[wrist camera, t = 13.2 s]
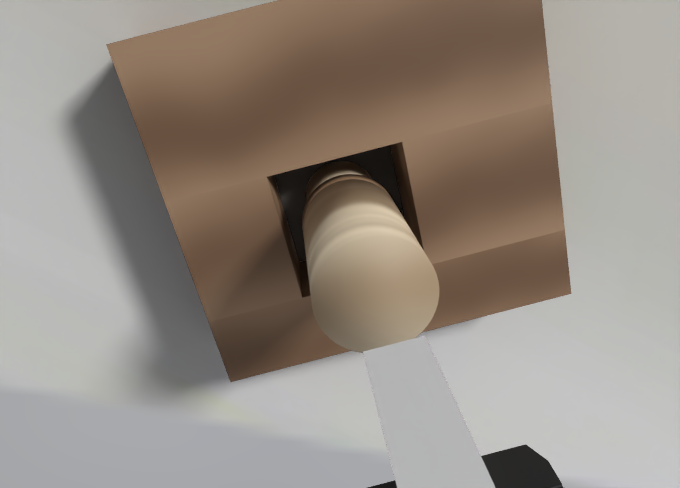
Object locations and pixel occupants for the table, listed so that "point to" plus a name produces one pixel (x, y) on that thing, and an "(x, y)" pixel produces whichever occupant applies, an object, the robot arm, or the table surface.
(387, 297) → the peg
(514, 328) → the table surface
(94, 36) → the table surface
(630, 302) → the table surface
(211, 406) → the table surface
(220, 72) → the board
